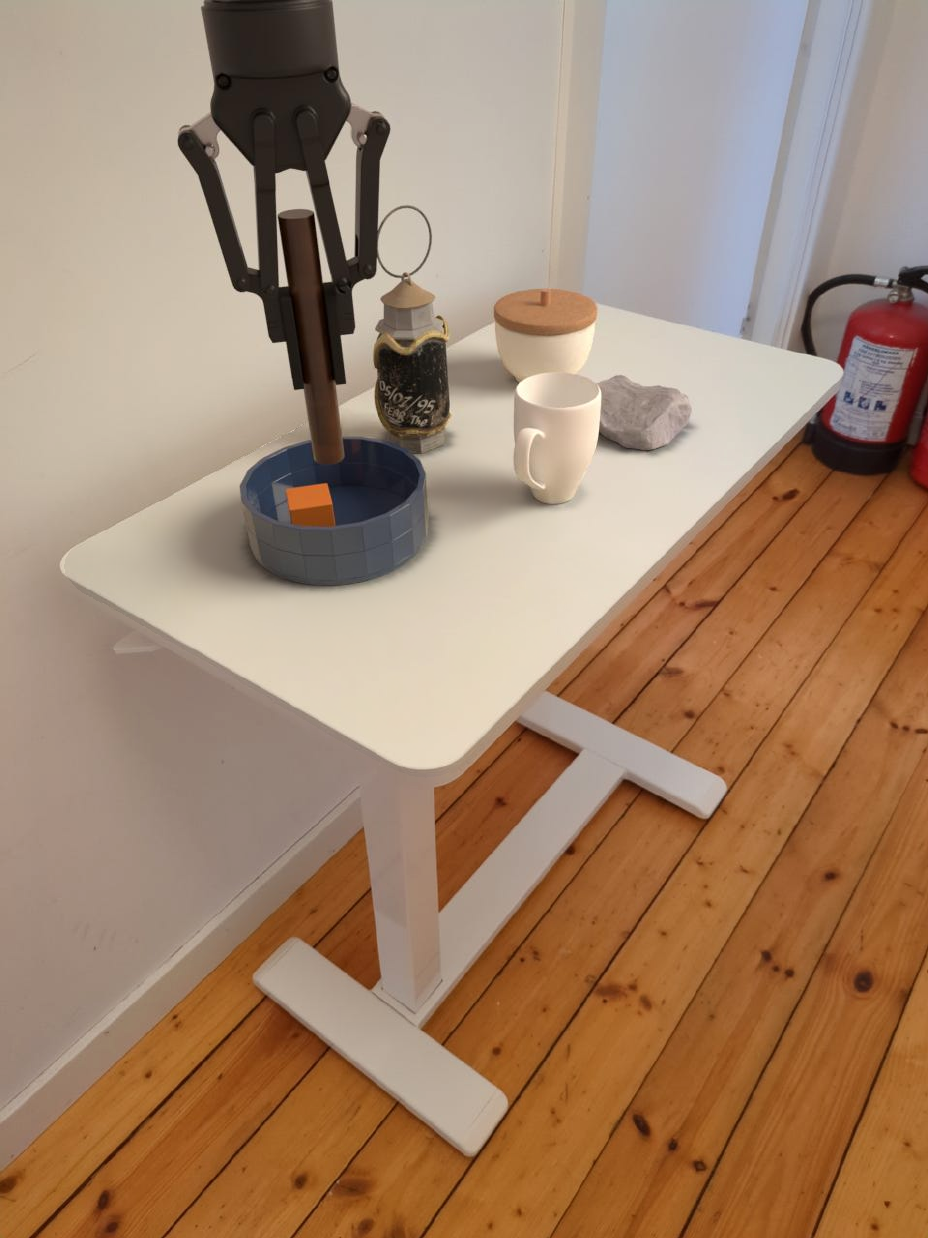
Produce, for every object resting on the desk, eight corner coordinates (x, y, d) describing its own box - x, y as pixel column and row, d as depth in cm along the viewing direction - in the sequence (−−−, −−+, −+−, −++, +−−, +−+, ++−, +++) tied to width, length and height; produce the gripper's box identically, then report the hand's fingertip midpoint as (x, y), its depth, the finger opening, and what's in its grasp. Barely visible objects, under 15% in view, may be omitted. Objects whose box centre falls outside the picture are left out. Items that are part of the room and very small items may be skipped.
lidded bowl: (612, 382, 113) (620, 294, 106) (528, 407, 108) (531, 316, 101) (555, 349, 121) (558, 266, 114) (475, 370, 116) (474, 284, 110)
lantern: (405, 464, 98) (387, 222, 82) (364, 438, 103) (340, 205, 87) (467, 439, 102) (462, 204, 86) (425, 415, 107) (413, 189, 91)
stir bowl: (257, 599, 79) (245, 543, 76) (246, 501, 93) (235, 449, 89) (445, 568, 82) (443, 513, 79) (409, 477, 95) (406, 426, 92)
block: (295, 546, 85) (289, 510, 82) (291, 523, 88) (285, 488, 85) (337, 539, 85) (332, 503, 83) (331, 517, 89) (327, 482, 86)
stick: (315, 466, 69) (278, 220, 58) (312, 452, 71) (276, 210, 60) (346, 462, 69) (315, 216, 58) (342, 448, 71) (312, 207, 60)
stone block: (650, 470, 99) (697, 421, 103) (649, 434, 95) (697, 385, 100) (563, 442, 105) (610, 397, 110) (558, 407, 102) (607, 362, 106)
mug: (535, 466, 97) (538, 365, 90) (606, 484, 93) (615, 381, 86) (481, 519, 89) (479, 413, 82) (557, 541, 85) (562, 433, 78)
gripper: (387, -20, 55) (412, 348, 70) (130, -8, 53) (211, 371, 68) (409, -11, 50) (430, 387, 64) (121, 4, 47) (212, 414, 62)
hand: (318, 378), depth 66 cm, fingers closed on stick, 2 cm apart
